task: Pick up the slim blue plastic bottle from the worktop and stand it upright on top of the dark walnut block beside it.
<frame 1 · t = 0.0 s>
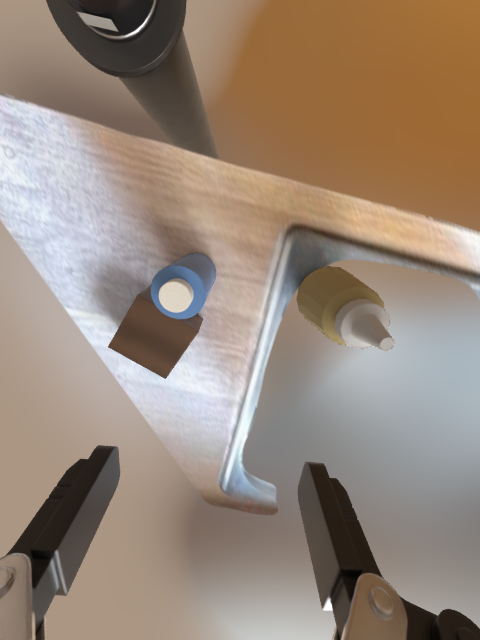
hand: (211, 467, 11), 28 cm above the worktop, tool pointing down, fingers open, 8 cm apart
squeeze bottle: (318, 289, 37), on the worktop
blue bottle: (197, 272, 36), on the worktop
walnut block: (163, 325, 39), on the worktop
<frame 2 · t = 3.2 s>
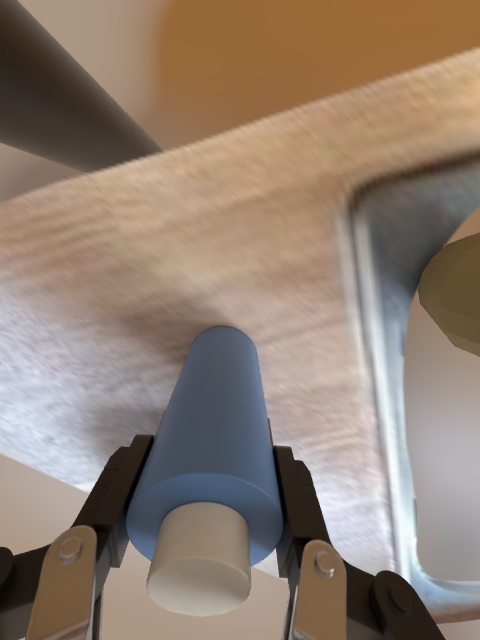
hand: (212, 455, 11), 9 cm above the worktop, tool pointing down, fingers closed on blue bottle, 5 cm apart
squeeze bottle: (455, 279, 18), on the worktop
blue bottle: (223, 357, 20), on the worktop, touching gripper
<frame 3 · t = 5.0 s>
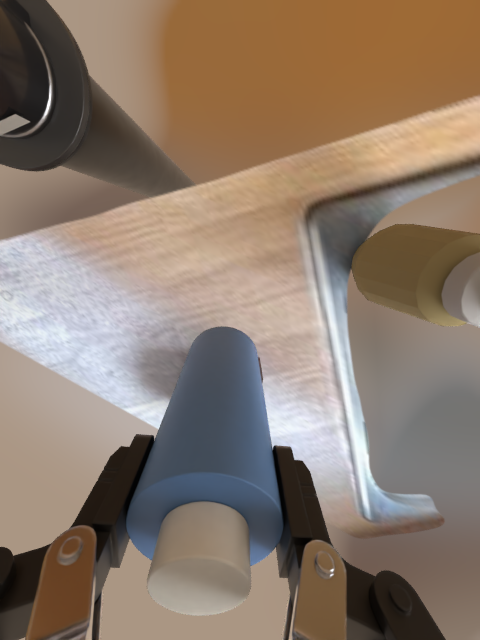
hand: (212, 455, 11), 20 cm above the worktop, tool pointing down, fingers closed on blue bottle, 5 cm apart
squeeze bottle: (375, 261, 29), on the worktop
blue bottle: (223, 357, 20), point 11 cm above the worktop, touching gripper
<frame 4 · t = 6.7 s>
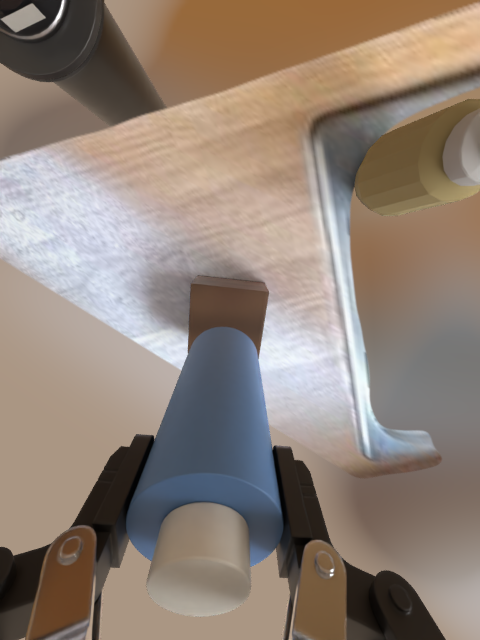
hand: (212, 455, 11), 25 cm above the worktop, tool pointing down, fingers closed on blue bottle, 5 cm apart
squeeze bottle: (377, 180, 30), on the worktop
blue bottle: (223, 358, 20), point 16 cm above the worktop, touching gripper
walnut block: (228, 310, 35), on the worktop
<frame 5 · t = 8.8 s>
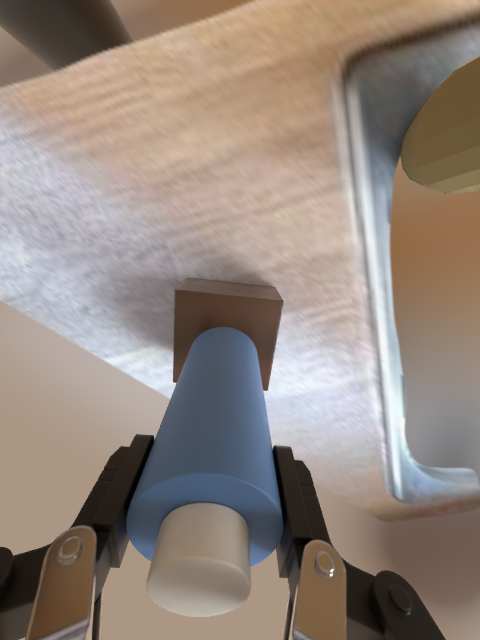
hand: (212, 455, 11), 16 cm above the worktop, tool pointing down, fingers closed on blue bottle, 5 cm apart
squeeze bottle: (432, 147, 21), on the worktop
blue bottle: (223, 358, 20), point 7 cm above the worktop, touching gripper
walnut block: (227, 323, 27), on the worktop
when the fingers open (14 cm above the worktop, at t = 10.1 s): blue bottle stays where it is, resting on walnut block.
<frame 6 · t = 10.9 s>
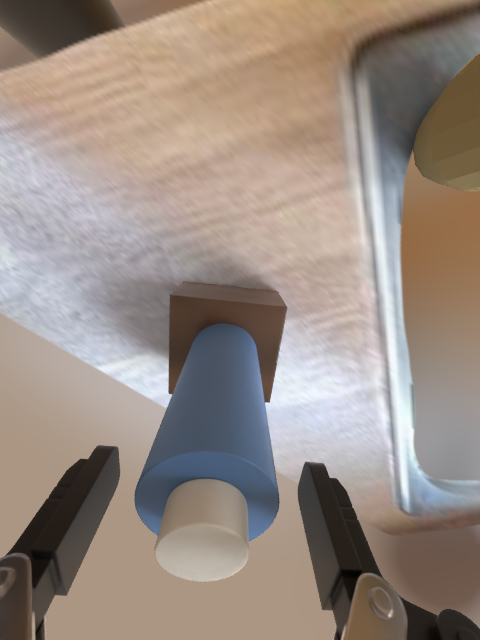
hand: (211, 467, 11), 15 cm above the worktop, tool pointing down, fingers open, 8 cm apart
squeeze bottle: (447, 141, 20), on the worktop
blue bottle: (224, 353, 21), point 5 cm above the worktop, touching walnut block
walnut block: (226, 330, 25), on the worktop, touching blue bottle
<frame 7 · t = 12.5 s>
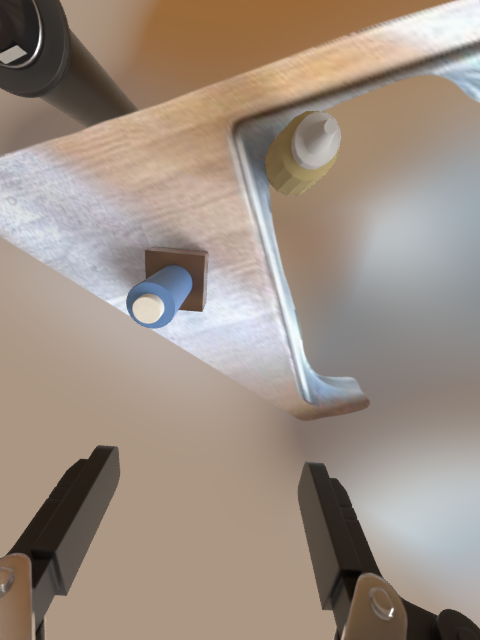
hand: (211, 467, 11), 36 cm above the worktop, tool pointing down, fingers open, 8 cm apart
squeeze bottle: (288, 169, 38), on the worktop
blue bottle: (175, 282, 39), point 5 cm above the worktop, touching walnut block
walnut block: (181, 276, 44), on the worktop, touching blue bottle
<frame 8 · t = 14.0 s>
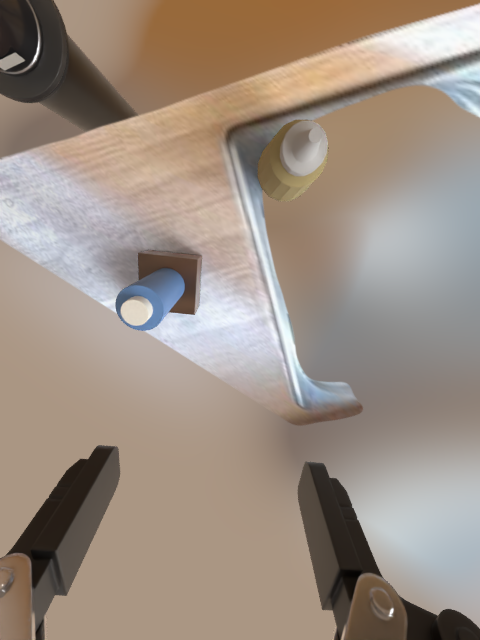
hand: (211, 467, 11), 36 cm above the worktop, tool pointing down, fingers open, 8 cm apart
squeeze bottle: (281, 175, 39), on the worktop
blue bottle: (167, 285, 39), point 5 cm above the worktop, touching walnut block
walnut block: (175, 279, 44), on the worktop, touching blue bottle
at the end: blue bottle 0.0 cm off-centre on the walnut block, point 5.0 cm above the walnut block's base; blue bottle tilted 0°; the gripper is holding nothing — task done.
